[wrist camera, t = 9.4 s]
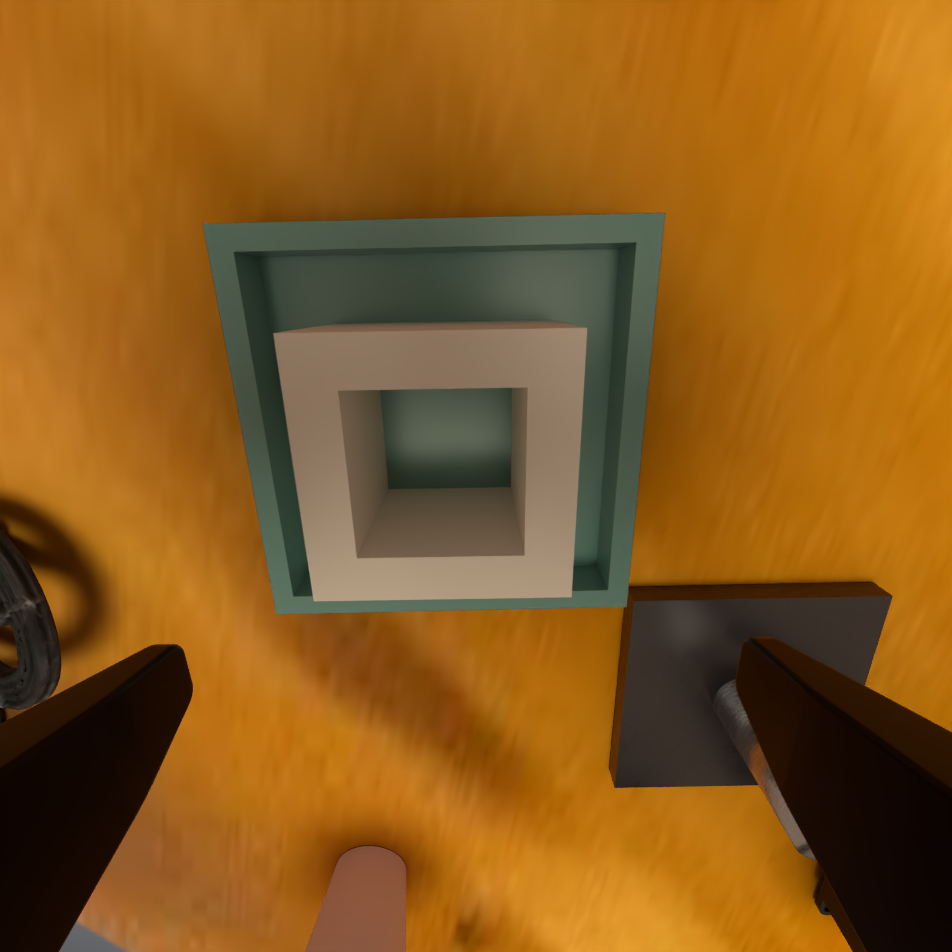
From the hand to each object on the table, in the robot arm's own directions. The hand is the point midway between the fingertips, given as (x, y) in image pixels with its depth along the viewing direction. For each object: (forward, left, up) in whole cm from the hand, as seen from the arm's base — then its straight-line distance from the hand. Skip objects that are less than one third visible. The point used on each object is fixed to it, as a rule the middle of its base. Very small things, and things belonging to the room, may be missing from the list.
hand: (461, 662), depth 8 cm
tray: (+1, -1, -11) cm, 11 cm away
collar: (+1, -1, -10) cm, 10 cm away
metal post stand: (-11, +11, -11) cm, 19 cm away
